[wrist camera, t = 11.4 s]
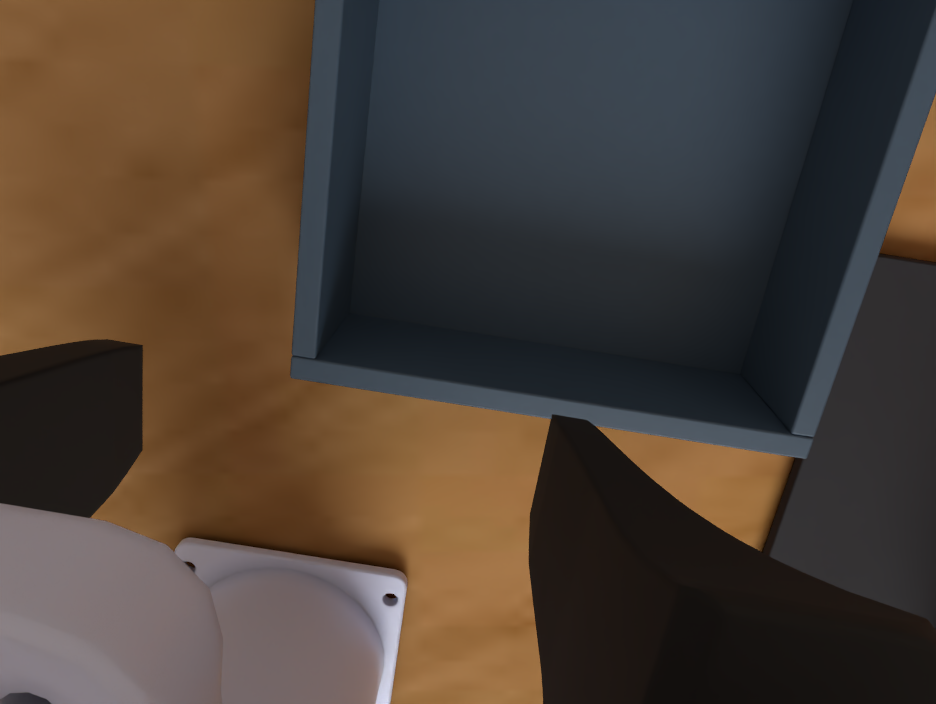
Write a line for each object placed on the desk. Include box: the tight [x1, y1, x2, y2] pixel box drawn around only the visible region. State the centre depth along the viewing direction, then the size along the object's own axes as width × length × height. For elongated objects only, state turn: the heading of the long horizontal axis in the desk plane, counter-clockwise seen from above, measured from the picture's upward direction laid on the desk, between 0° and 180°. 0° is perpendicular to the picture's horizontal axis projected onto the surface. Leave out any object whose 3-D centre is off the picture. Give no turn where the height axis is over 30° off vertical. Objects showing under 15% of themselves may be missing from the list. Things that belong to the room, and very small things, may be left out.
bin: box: [290, 0, 936, 459], centre depth 17 cm, size 13×13×5 cm
